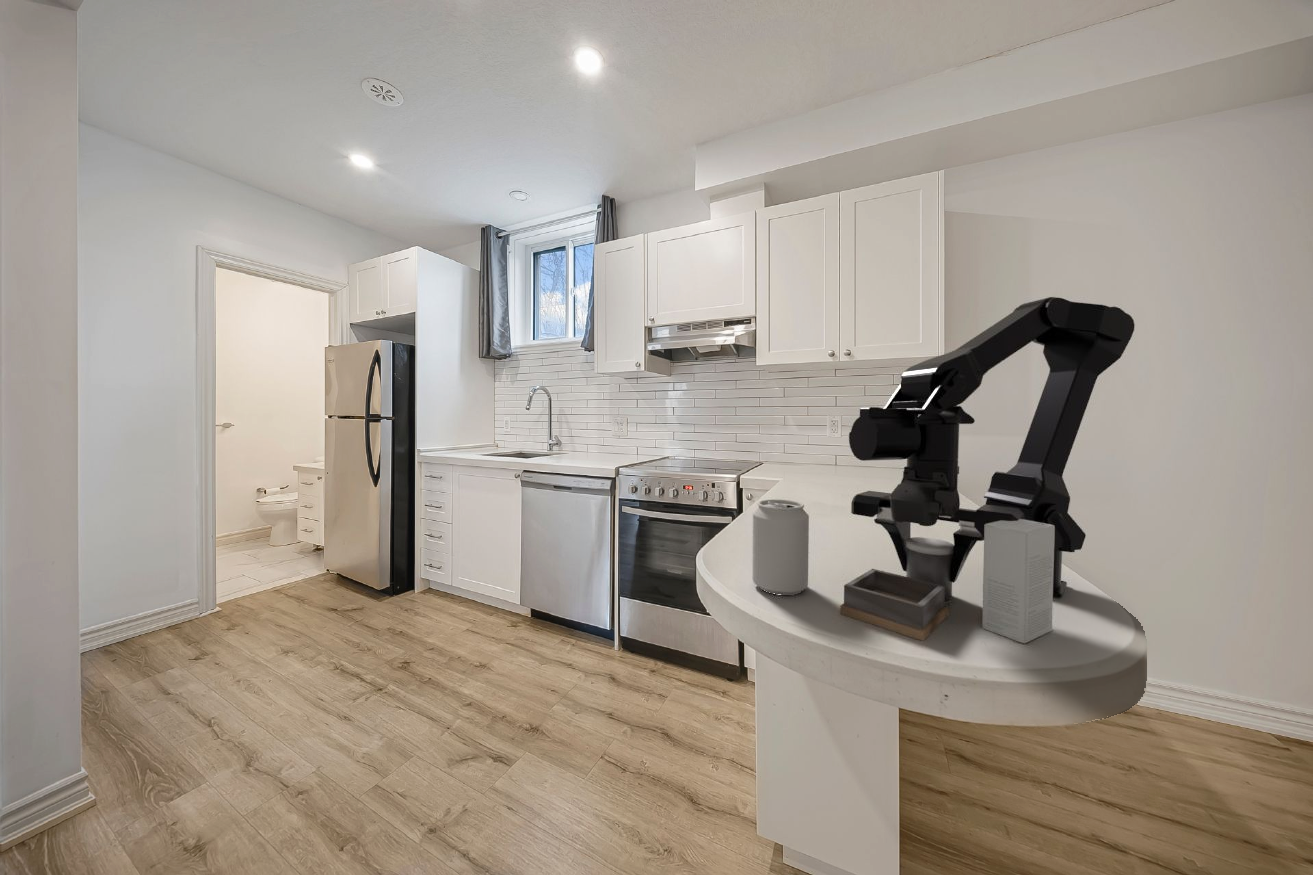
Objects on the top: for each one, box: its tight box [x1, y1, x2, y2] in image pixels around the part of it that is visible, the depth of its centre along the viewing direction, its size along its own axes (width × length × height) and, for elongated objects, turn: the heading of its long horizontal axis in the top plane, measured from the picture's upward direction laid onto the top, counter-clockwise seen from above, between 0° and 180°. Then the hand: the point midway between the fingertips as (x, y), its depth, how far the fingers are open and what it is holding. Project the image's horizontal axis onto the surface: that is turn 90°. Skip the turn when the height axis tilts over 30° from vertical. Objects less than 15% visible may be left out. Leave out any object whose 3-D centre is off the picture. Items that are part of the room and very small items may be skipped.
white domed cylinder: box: [905, 536, 954, 604], centre depth 59 cm, size 5×5×7 cm
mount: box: [839, 568, 949, 642], centre depth 54 cm, size 9×9×4 cm
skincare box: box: [981, 519, 1055, 644], centre depth 49 cm, size 6×4×12 cm
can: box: [751, 498, 810, 596], centre depth 62 cm, size 8×8×12 cm
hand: (928, 576), depth 59 cm, fingers closed on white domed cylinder, 5 cm apart
